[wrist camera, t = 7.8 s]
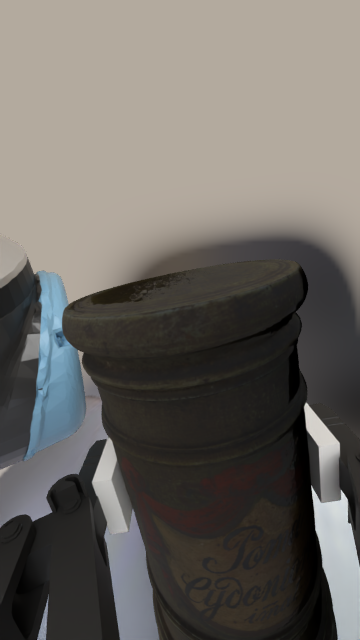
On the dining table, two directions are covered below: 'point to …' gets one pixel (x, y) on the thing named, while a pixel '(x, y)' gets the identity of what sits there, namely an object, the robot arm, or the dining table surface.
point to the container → (213, 445)
